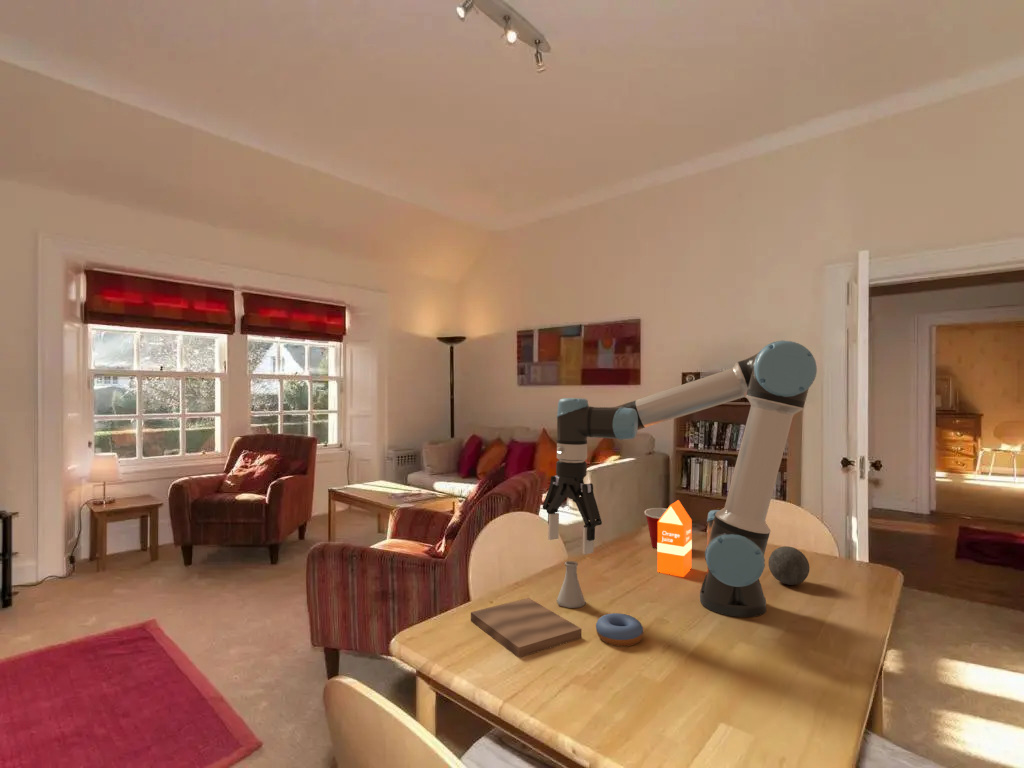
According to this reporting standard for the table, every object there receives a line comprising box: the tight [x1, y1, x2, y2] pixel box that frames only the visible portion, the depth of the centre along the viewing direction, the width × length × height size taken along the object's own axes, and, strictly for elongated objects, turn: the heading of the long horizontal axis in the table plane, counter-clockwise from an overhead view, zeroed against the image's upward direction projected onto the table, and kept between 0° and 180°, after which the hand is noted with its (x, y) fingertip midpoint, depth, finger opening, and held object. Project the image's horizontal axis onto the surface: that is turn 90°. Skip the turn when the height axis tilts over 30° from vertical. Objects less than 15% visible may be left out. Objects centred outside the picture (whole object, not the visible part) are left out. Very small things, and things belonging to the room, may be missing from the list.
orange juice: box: [656, 499, 693, 578], centre depth 160 cm, size 8×9×20 cm
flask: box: [556, 560, 586, 609], centre depth 136 cm, size 7×7×10 cm
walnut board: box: [470, 597, 582, 659], centre depth 121 cm, size 20×16×2 cm
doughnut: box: [595, 612, 644, 647], centre depth 117 cm, size 10×10×5 cm
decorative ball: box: [767, 545, 810, 586], centre depth 150 cm, size 10×10×10 cm
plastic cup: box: [644, 507, 668, 550], centre depth 183 cm, size 11×11×12 cm
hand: (569, 546), depth 136 cm, fingers open, 13 cm apart
